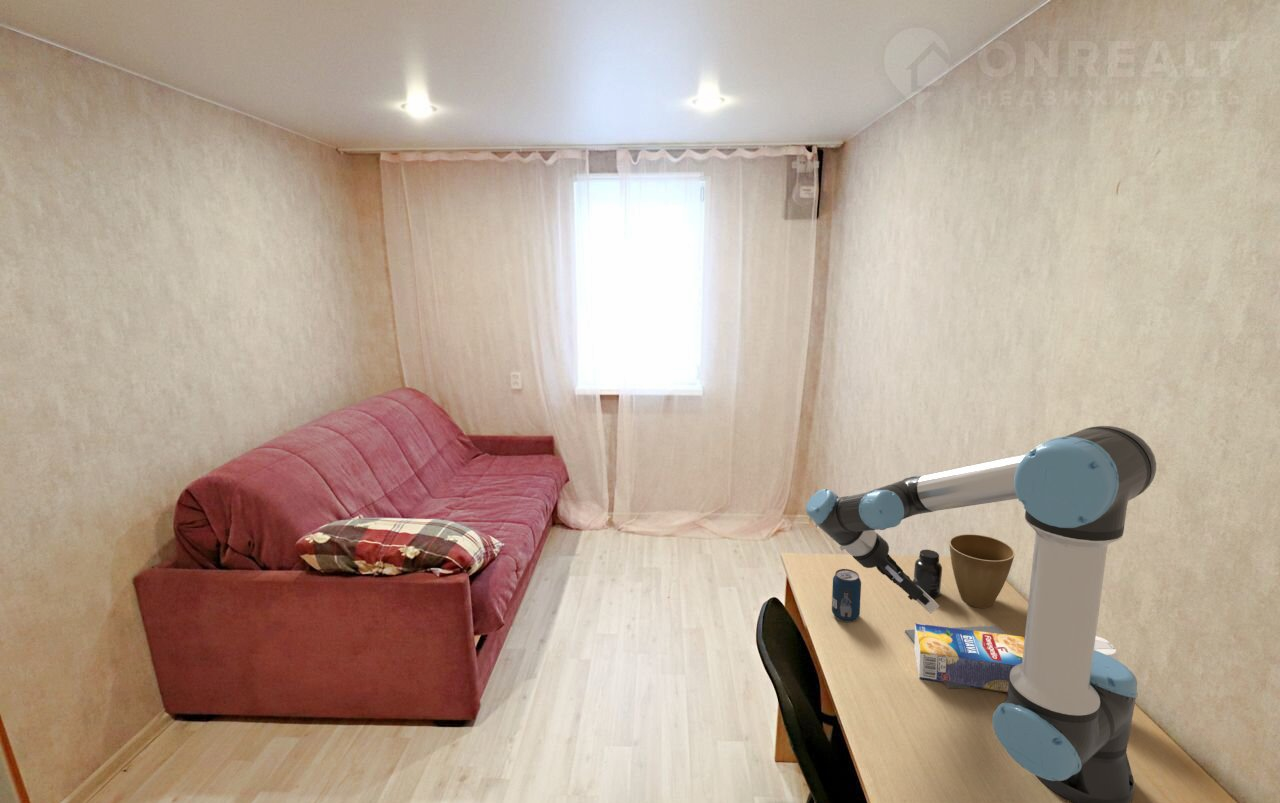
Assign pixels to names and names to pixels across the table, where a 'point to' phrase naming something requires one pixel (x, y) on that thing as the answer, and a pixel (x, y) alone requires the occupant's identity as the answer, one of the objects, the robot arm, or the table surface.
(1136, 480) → the robot arm
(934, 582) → the supplement bottle
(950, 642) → the beverage box
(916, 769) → the table surface
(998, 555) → the plant pot
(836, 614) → the soda can
